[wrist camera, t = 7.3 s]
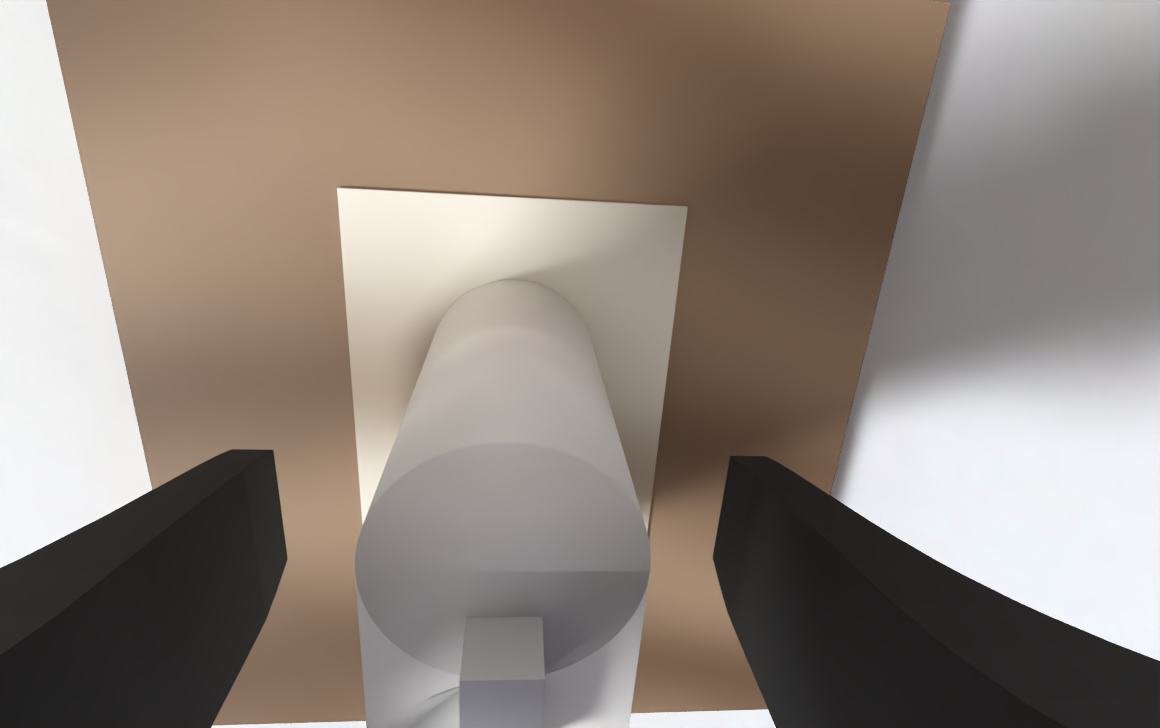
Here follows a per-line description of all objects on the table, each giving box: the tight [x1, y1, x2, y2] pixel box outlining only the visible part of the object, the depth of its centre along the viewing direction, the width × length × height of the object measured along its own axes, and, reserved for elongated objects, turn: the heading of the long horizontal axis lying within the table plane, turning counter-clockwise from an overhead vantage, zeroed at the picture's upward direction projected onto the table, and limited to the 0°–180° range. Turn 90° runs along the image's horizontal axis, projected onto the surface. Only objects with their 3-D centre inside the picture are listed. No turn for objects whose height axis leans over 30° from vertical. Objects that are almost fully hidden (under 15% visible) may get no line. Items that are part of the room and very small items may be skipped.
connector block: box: [355, 280, 651, 728], centre depth 9 cm, size 6×3×7 cm, turn 176°
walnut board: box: [46, 0, 951, 725], centre depth 13 cm, size 16×14×1 cm
